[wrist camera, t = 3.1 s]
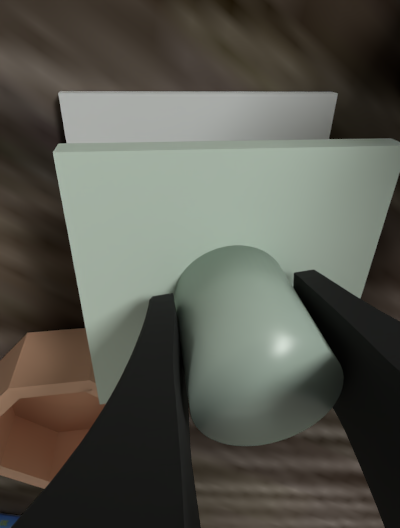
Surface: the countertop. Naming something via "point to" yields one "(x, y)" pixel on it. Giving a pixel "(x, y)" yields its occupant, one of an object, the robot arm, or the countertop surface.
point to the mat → (195, 116)
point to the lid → (225, 264)
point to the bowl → (45, 403)
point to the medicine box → (8, 520)
